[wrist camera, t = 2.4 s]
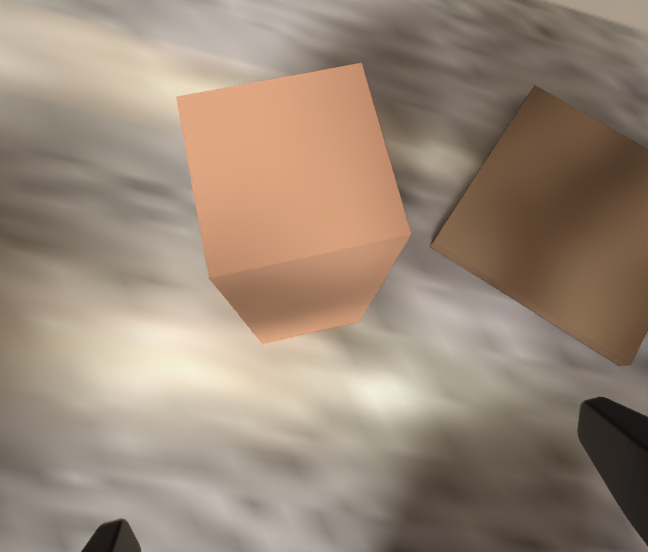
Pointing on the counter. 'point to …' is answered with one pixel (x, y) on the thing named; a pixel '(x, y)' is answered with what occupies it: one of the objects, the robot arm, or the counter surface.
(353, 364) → the counter surface
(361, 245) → the terracotta block
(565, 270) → the walnut board
